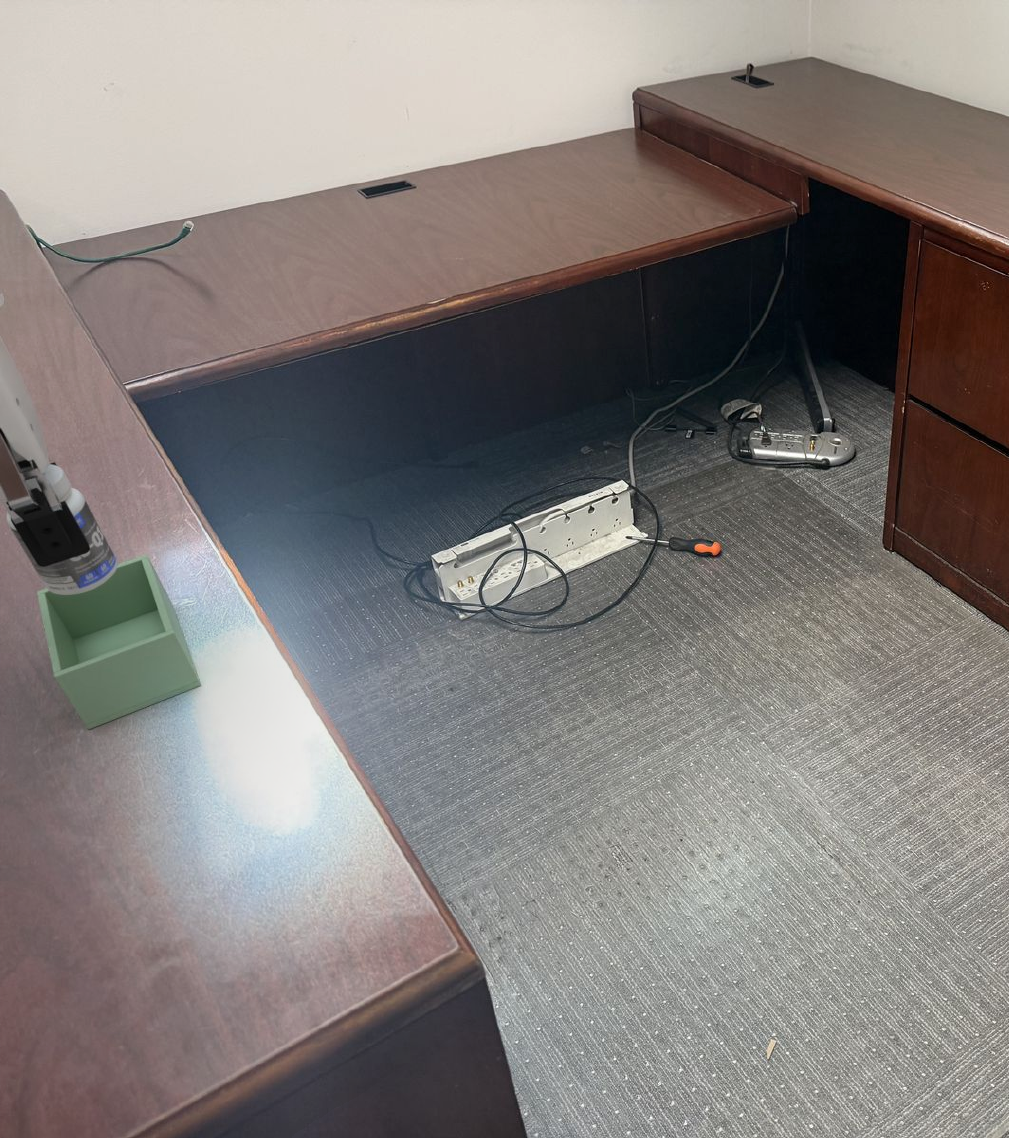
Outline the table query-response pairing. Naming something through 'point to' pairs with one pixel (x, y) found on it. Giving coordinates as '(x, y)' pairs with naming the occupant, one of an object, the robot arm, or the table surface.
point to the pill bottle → (80, 569)
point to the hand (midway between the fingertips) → (59, 534)
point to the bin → (117, 644)
